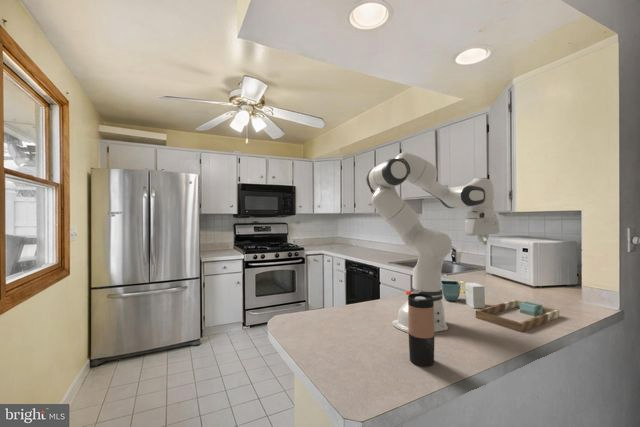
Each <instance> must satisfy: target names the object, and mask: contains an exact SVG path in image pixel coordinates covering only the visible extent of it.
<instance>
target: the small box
mask: <svg viewBox="0 0 640 427" xmlns="http://www.w3.org/2000/svg"><path fill="white" fill-rule="evenodd" d="M464 286H465V288H464V289H465V290H464V292H465V304H466V305H467V306H469V307H471V308H473V309H484V308H486V297H485V296H486V294H485V292H486V291H485V286H484V285H482V284H480V283H478V282H465V285H464Z"/></svg>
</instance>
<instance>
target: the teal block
mask: <svg viewBox="0 0 640 427" xmlns="http://www.w3.org/2000/svg"><path fill="white" fill-rule="evenodd" d="M542 306H543V304H541V303H536V302H533V301H528V300H527V301H523V302H522V303H520V308H519V313H521V314H525V315H527V316H531V317H533V318H534V317H537V316H538V315H539V316H540V315H542V314H543V310H542Z"/></svg>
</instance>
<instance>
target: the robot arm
mask: <svg viewBox="0 0 640 427" xmlns="http://www.w3.org/2000/svg"><path fill="white" fill-rule="evenodd" d="M437 177H438V171H437V167H436V166H434V164H432V163H431V162H429V161H428V160H426V159H424V158H422V157H420V156H418V155H415V154H412V153H408V152H401V153H399V154H398V155H396V157H395V158H389V159H387V160H386V161H383V162H380V163H378V164H377V165H376V166H374V167H373V168H371V169H370V170H369V171H368V173H367V174H366V180H365V181H366V184H367V186H368V188H369V190H370V192H371V194H372V196H371V199H370V200H371V204H372V206H373V207H374V210H376V212H377V213H378V214H379V216H380V217H381V218H383V220H384V221H385V222H386V223H387V224H388V225H389V226H390V227H392V229H393V230H394V231H395V232H396V233H397V234H398V236H399V237H400V239H401V240H402V242H403V244H404V246H405V247H406V248H407V249H408V250H409V251H411V253H414V254H417V255H418V258H417V263H416V264H415V266H414V267H413V268H412V288H411V290H409V289H406V290H405V295H406V296H409V295H410V294H417V293H418V294H427V295H430V296H432V297H433V299H434V333H435V332H436V333H437V332H442V331H447V330H449V328H448V327H449V326H448V325H447V322H446V315H445V314H446V313H445V307H444V304H443V300H442V299H443V296H444V295H443V293H442V289H441V281H442V270H443V265H444V262H445V258H446V257H447V256H448V255H449V254H450V253H451V251H452V248H453V243H452V239H451V238H450V236H449V235H448V234H446V233H444V232H442V231H441V230H436V229H427V228H426V227H424V225H423V224H422V223H421V221H420V220H419V216H418V213H417V212H416V211H415V210H414V209H413V208H412V206H410V205H409V204H408V203H407V202H406V201H405V200H404V199H403V198H402V197H401V196H400V195H399V193H398V192H397V190H396V187H397V186H399V185H401V184H403V183H404V182H405V181H407V182H409V183H411V184H413V185H415V186H417V187H419V188H420V189H421V190H423V191H425V192H426V193H428V194H430V195H431V196H433V197H434V198H436V199H437V200H439V201H440V203H441V204H442V205H443V206H444V207H445V208H447V209H457V208H470V207H471V209H470V210H469V211H468V212H466V213H465V214H464V218H465V222H464V228H465V234H466V236H470V237H473V236H477V239H478V241H479V246H485V245H488V240H489V237H490V235H498V234H499V233H500V223H499V219H498V216H497V215H496V214H495V206H494V197H495V193H494V184H493V182H492V179H489V178H486V177H476V178H473V179H472V180H471V181H470V182H468V183H467V184H464V185H460V186H452V187H450V186H445V185H444V184H442V183H440V182H439V181H437V180H436V179H437ZM391 325H392V326H394V327H395V328H397V329H398V330H400V331H403V332H405V333H407V334H408V300H407V301H406V302H404V304H403V305H402V306H401V307H400V308H399V309H398V313H397V319H394V320H392V321H391Z"/></svg>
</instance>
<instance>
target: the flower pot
mask: <svg viewBox="0 0 640 427" xmlns="http://www.w3.org/2000/svg"><path fill="white" fill-rule="evenodd" d="M459 283H460V281H458V280H441V289H442V293H443V295H442V296H443V297H444V299H445V301H449V302H450V301H453V302H456V301H458V299H459V298H460V294H461V292H460V288H461V284H459Z"/></svg>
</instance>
